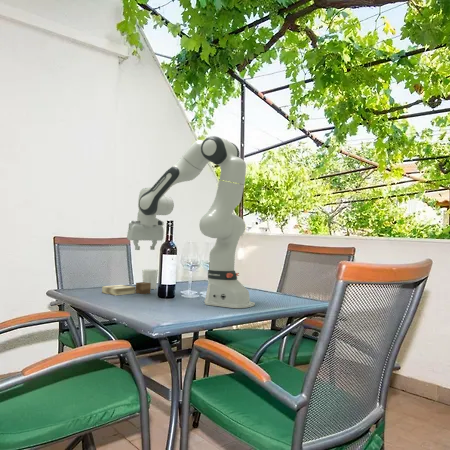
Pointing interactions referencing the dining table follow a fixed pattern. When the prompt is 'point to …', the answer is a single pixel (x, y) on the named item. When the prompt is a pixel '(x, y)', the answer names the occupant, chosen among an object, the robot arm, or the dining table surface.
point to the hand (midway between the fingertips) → (145, 249)
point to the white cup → (150, 277)
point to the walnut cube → (143, 287)
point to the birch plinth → (118, 289)
